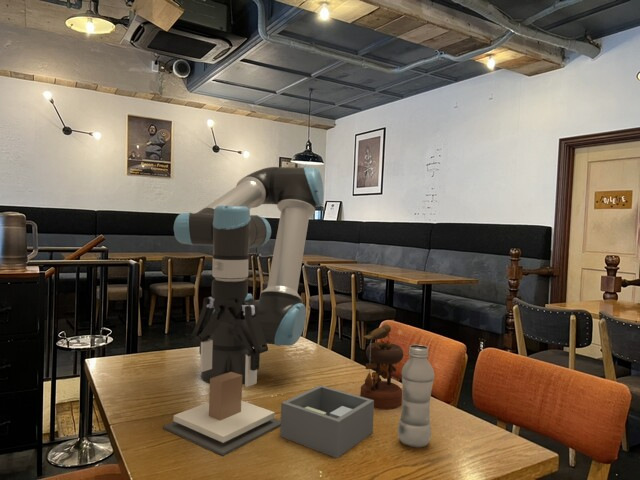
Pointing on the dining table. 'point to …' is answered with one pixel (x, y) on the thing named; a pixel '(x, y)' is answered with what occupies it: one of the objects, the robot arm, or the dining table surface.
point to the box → (327, 420)
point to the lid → (224, 411)
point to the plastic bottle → (416, 398)
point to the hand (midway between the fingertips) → (227, 377)
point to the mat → (217, 445)
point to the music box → (382, 371)
